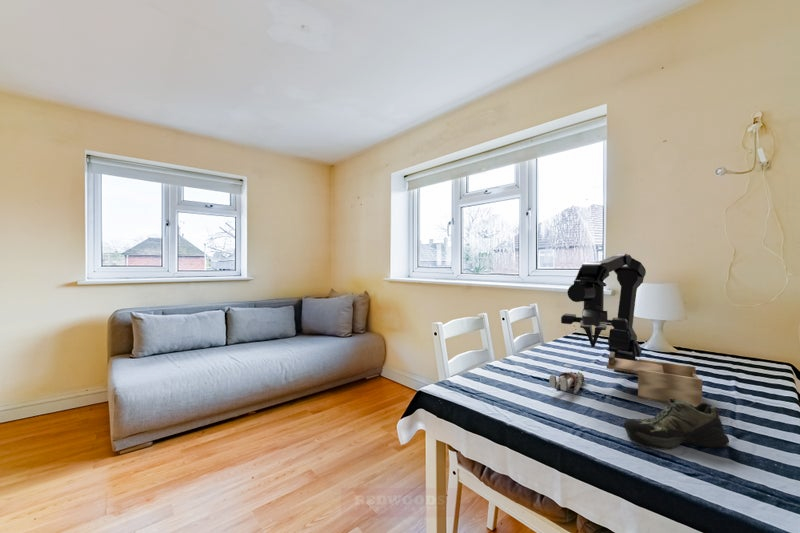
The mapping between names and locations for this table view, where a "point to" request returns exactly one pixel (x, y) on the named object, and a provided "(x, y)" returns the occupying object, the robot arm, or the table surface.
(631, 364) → the lid
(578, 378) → the figurine
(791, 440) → the table surface
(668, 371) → the box
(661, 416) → the hiking shoe
